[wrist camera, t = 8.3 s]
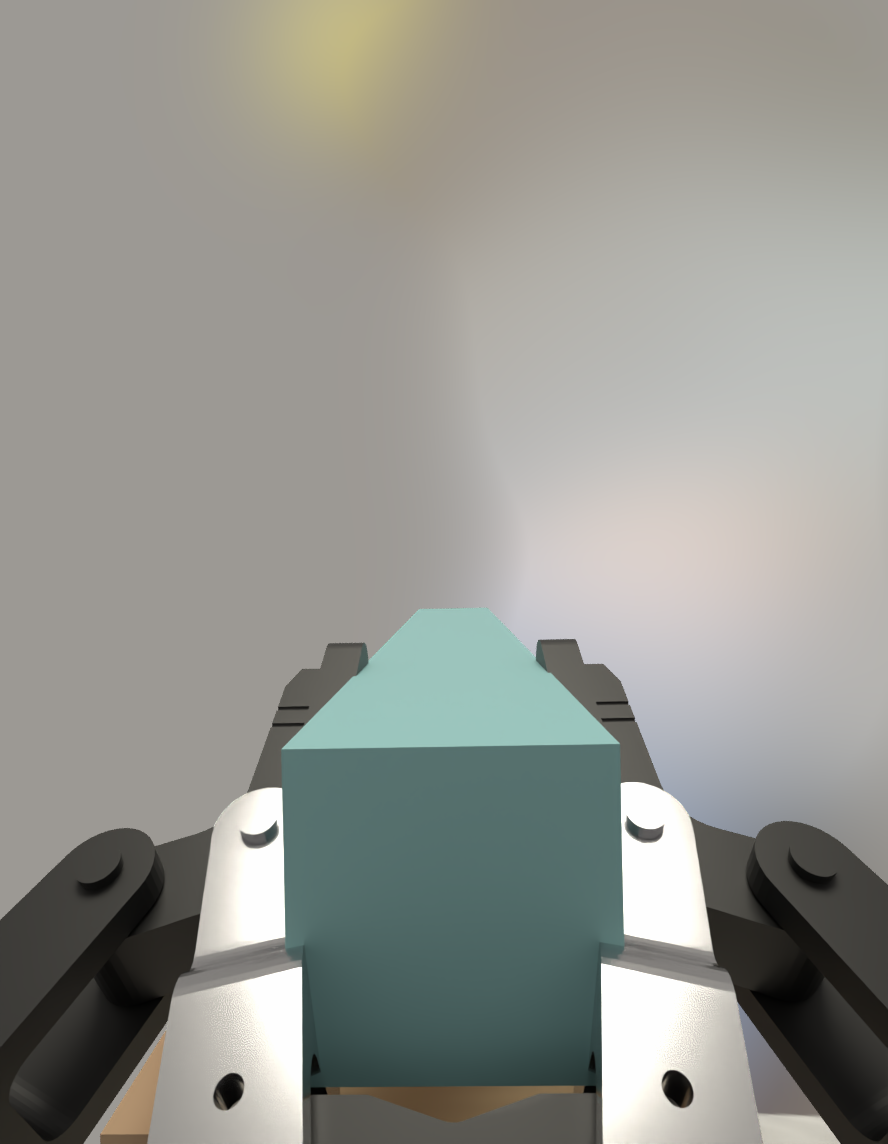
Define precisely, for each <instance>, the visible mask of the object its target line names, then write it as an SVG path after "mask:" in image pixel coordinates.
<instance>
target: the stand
mask: <svg viewBox="0 0 888 1144" xmlns="http://www.w3.org/2000/svg"><path fill="white" fill-rule="evenodd" d="M573 1091H574V1086H452V1087H340V1095H370V1096H373V1097H376V1098H379V1099H382V1100H385V1101H388V1102H390V1103H393V1104H396V1105H399V1106H402V1107H405V1108H408V1109H411V1110H414V1111H416V1112H419V1113H422V1114H425V1115H428V1116H431V1117H434V1118H437V1119H440V1120H442V1121H446V1122H460V1121H464V1120H467V1119H470V1118H472V1117H475V1116H478V1115H481V1114H483V1113H486V1112H489V1111H492V1110H495V1109H497V1108H500V1107H503V1106H506V1105H509V1104H511V1103H514V1102H517V1101H520V1100H523V1099H525V1098H528V1097H531V1096H534V1095H536V1094H540V1093H573Z"/></svg>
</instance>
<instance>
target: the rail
mask: <svg viewBox="0 0 888 1144" xmlns="http://www.w3.org/2000/svg"><path fill="white" fill-rule="evenodd" d="M368 662H369V663H368V664H367V665H366V666H365V667H364V668H363V670H362V671H361V672H360V673H359V674H358V675H357V676H353V677H352V678H351V679H350V680H349V681H348V682H347V683H346V684H345V685H344V686H343V687H342V688H341V689H340V690H339V691H338V692H337V693H336V694H335V695H334V696H333V697H332V698H331V699H330V700H329V701H328V702H327V703H326V704H325V705H324V706H323V707H322V708H321V709H320V710H319V711H318V712H317V713H316V715H315V716H314V717H313V718H312V719H311V720H310V721H309V722H308V723H307V724H306V725H305V726H304V727H303V728H302V729H301V730H300V731H299V732H298V733H297V734H296V735H295V736H294V737H293V738H292V739H291V740H290V741H289V742H288V743H287V744H286V745H285V746H284V747H283V748H282V749H281V764H282V814H283V863H284V912H285V949H286V948H291V947H296V946H301V945H304V946H305V953H306V961H307V969H308V976H309V984H310V992H311V999H312V1007H313V1015H314V1022H315V1030H316V1038H317V1045H318V1053H319V1061H320V1068H321V1072H320V1073H318V1074H316V1075H314V1076H312V1077H311V1087H452V1086H596V1074H595V1073H593V1072H591V1071H588V1064H589V1053H590V1042H591V1031H592V1019H593V1008H594V997H595V986H596V974H597V963H598V952H599V942H603V943H609V944H614V945H620V946H625V944H624V899H623V854H622V808H621V763H620V743H619V742H618V741H617V740H616V739H615V738H614V737H613V736H612V735H611V734H610V733H609V732H608V731H607V730H606V729H605V728H604V727H603V726H602V725H601V724H600V723H599V722H598V721H597V720H596V719H595V718H594V717H593V716H592V715H591V714H590V713H589V712H588V710H587V709H586V708H585V707H584V706H583V705H582V704H581V703H580V702H579V701H578V700H577V699H576V698H575V697H574V696H573V695H572V694H571V693H570V692H569V691H568V690H567V689H566V688H565V687H564V686H563V685H562V684H561V683H560V682H559V681H558V680H557V679H556V678H555V677H554V676H553V675H552V674H551V673H548V672H547V671H546V670H545V669H544V668H543V667H542V666H541V665H540V664H539V663H538V662H537V661H536V657H535V656H534V655H533V654H532V653H531V652H530V651H529V650H528V649H527V648H526V647H525V646H524V645H523V644H522V643H521V642H520V641H519V640H518V639H517V638H516V637H515V636H514V635H513V634H512V633H511V631H510V630H509V629H508V628H507V627H506V626H505V625H504V624H503V623H501V621H500V620H499V619H498V618H497V617H496V616H495V615H494V614H493V613H492V612H491V611H490V610H489V609H488V608H454V609H452V608H451V609H419V610H418V611H417V612H416V613H415V614H414V615H413V616H412V617H411V618H410V619H409V620H408V621H407V622H406V623H405V624H404V625H403V626H402V627H401V628H400V629H399V630H398V631H397V632H396V633H395V634H394V635H393V636H392V637H391V638H390V639H389V641H387V642H386V643H385V644H384V645H383V646H382V647H381V649H379V651H378V652H377V653H376V654H375V655H374V656H373V657H372V658H371V659H370V660H369V661H368Z"/></svg>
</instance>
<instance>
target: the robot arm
mask: <svg viewBox="0 0 888 1144" xmlns="http://www.w3.org/2000/svg"><path fill="white" fill-rule="evenodd" d="M536 661H537V662H538V663H539V664H540V665H541V666H542V667H543V668H544V669H545V670H546V671H547V672H548V673H551V674H552V675H553V676H554V677H555V678H556V679H557V680H558V681H559V682H560V683H561V684H562V685H563V686H564V687H565V688H566V689H567V690H568V691H569V692H570V693H571V694H572V695H573V696H574V697H575V698H576V699H577V700H578V701H579V702H580V703H581V704H582V705H583V706H584V707H585V708H586V709H587V710H588V712H589V713H590V714H591V715H592V716H593V717H594V718H595V719H596V720H597V721H598V722H599V723H600V724H601V725H602V726H603V727H604V728H605V729H606V730H607V731H608V732H609V733H610V734H611V735H612V736H613V737H614V738H615V739H616V740H617V741H618V742H619V743H620V763H621V808H622V854H623V899H624V944H625V946H620V945H614V944H609V943H603V942H599V952H598V963H597V974H596V986H595V997H594V1008H593V1019H592V1031H591V1042H590V1053H589V1064H588V1071H591V1072H593V1073H595V1074H596V1086H574V1091H573V1093H540V1094H536V1095H534V1096H531V1097H528V1098H525V1099H523V1100H520V1101H517V1102H514V1103H511V1104H509V1105H506V1106H503V1107H500V1108H497V1109H495V1110H492V1111H489V1112H486V1113H483V1114H481V1115H478V1116H475V1117H472V1118H470V1119H467V1120H464V1121H460V1122H446V1121H442V1120H440V1119H437V1118H434V1117H431V1116H428V1115H425V1114H422V1113H419V1112H416V1111H414V1110H411V1109H408V1108H405V1107H402V1106H399V1105H396V1104H393V1103H390V1102H388V1101H385V1100H382V1099H379V1098H376V1097H373V1096H370V1095H340V1087H311V1077H312V1076H314V1075H316V1074H318V1073H320V1072H321V1068H320V1061H319V1053H318V1045H317V1038H316V1030H315V1022H314V1015H313V1007H312V999H311V992H310V984H309V976H308V969H307V961H306V953H305V946H304V945H301V946H296V947H291V948H286V949H285V912H284V863H283V814H282V764H281V749H282V748H283V747H284V746H285V745H286V744H287V743H288V742H289V741H290V740H291V739H292V738H293V737H294V736H295V735H296V734H297V733H298V732H299V731H300V730H301V729H302V728H303V727H304V726H305V725H306V724H307V723H308V722H309V721H310V720H311V719H312V718H313V717H314V716H315V715H316V713H317V712H318V711H319V710H320V709H321V708H322V707H323V706H324V705H325V704H326V703H327V702H328V701H329V700H330V699H331V698H332V697H333V696H334V695H335V694H336V693H337V692H338V691H339V690H340V689H341V688H342V687H343V686H344V685H345V684H346V683H347V682H348V681H349V680H350V679H351V678H352V677H353V676H357V675H358V674H359V673H360V672H361V671H362V670H363V668H364V667H365V666H366V665H367V664H368V663H369V662H368V654H367V648H366V644H365V643H330V644H328V646H327V648H326V651H325V655H324V658H323V661H322V665H321V668H320V669H302V670H301V671H300V672H299V673H298V674H297V675H296V676H295V677H294V678H293V679H292V680H291V681H290V682H289V684H288V685H286V687H285V689H284V692H283V695H282V698H281V700H280V703H279V706H278V711H277V712H276V714H275V717H274V720H273V723H272V728H270V731H269V734H268V737H267V740H266V742H265V745H264V748H263V751H262V754H261V756H260V759H259V762H258V765H257V767H256V770H255V773H254V776H253V779H252V781H251V784H250V787H249V790H248V792H247V794H245V795H243V796H241V797H240V798H238V799H237V800H235V801H234V802H232V803H231V804H230V805H229V806H228V807H227V808H226V809H225V810H224V811H223V812H222V814H221V815H220V817H219V818H218V820H217V822H216V824H215V826H214V827H212V828H210V829H208V830H206V831H203V832H200V833H198V834H195V835H192V836H188V837H185V838H181V839H178V840H175V841H171V842H168V843H165V844H162V845H158V846H154V844H153V842H152V840H151V839H150V837H148V835H147V834H145V833H144V832H142V831H140V830H136V829H130V828H124V829H115V830H110V831H107V832H104V833H101V834H98V835H97V836H94V837H92V838H90V839H88V840H87V841H85V842H83V843H82V844H80V845H79V846H78V847H76V848H75V849H74V850H72V851H71V852H70V853H69V854H68V855H67V856H66V857H65V858H64V859H63V860H62V861H61V862H60V863H59V864H58V865H57V866H55V868H54V869H52V870H51V871H50V872H49V873H48V874H47V875H46V876H45V877H44V878H43V879H42V880H41V881H40V882H39V883H38V884H37V885H36V886H35V887H34V888H33V889H32V890H31V891H30V892H29V893H28V894H27V895H26V896H25V897H24V898H23V899H22V900H21V901H19V903H18V904H16V905H15V906H14V907H13V908H12V909H11V910H10V911H9V912H8V913H7V914H6V915H5V916H4V917H3V918H2V919H1V920H0V1144H83V1143H84V1142H85V1140H86V1139H87V1137H88V1136H89V1135H90V1133H91V1132H92V1130H93V1129H94V1127H95V1126H96V1124H97V1123H98V1121H99V1120H100V1118H101V1117H102V1116H103V1114H104V1113H105V1111H106V1110H107V1108H108V1107H109V1105H110V1104H111V1103H112V1101H113V1100H114V1098H115V1097H116V1095H117V1094H118V1092H119V1091H120V1089H121V1088H122V1086H123V1085H124V1084H125V1082H126V1081H127V1079H128V1078H129V1076H130V1074H131V1073H132V1072H133V1070H134V1069H135V1067H136V1066H137V1065H138V1063H139V1062H140V1060H141V1059H142V1057H143V1056H144V1054H145V1053H146V1052H147V1050H148V1049H149V1047H150V1046H151V1044H152V1043H153V1041H154V1040H155V1038H156V1037H157V1035H158V1034H159V1032H160V1031H161V1030H162V1028H163V1027H164V1025H165V1024H166V1022H167V1021H168V1023H167V1028H166V1034H165V1040H164V1046H163V1052H162V1058H161V1064H160V1070H159V1076H158V1082H157V1088H156V1094H155V1100H154V1106H153V1112H152V1118H151V1124H150V1130H149V1136H148V1142H147V1144H763V1141H762V1136H761V1130H760V1125H759V1119H758V1114H757V1109H756V1103H755V1097H754V1092H753V1087H752V1081H751V1075H750V1070H749V1064H748V1059H747V1053H746V1048H745V1042H744V1037H743V1032H742V1026H741V1021H740V1016H739V1010H738V1004H737V1002H738V1003H739V1004H740V1006H741V1007H742V1009H743V1010H744V1011H745V1013H746V1014H747V1016H749V1018H750V1020H751V1021H752V1022H753V1024H754V1025H755V1026H756V1028H757V1029H758V1031H759V1032H760V1033H761V1035H762V1036H763V1037H764V1039H765V1040H766V1042H767V1043H768V1044H769V1046H770V1047H771V1049H772V1050H773V1051H774V1053H775V1054H776V1055H777V1057H778V1058H779V1060H780V1061H781V1062H782V1064H783V1065H784V1066H785V1067H786V1069H787V1071H788V1072H789V1073H790V1075H791V1076H792V1077H793V1079H794V1080H795V1081H796V1083H797V1084H798V1085H799V1087H800V1088H801V1090H802V1091H803V1092H804V1094H805V1095H806V1097H807V1098H808V1099H809V1101H810V1102H811V1103H812V1105H813V1106H814V1108H815V1109H816V1110H817V1111H818V1113H819V1114H820V1116H821V1117H822V1119H823V1120H824V1121H825V1123H826V1124H827V1125H828V1127H829V1128H830V1130H831V1131H832V1132H833V1134H834V1135H835V1136H836V1138H837V1139H838V1141H839V1142H840V1143H841V1144H888V885H887V884H886V883H885V882H884V881H883V880H882V879H881V878H880V877H879V876H877V875H876V874H875V873H874V872H873V871H872V870H871V869H870V868H868V866H866V865H865V864H864V863H863V862H862V861H861V860H860V859H859V858H857V856H855V855H854V854H853V853H852V852H851V851H850V850H849V849H848V848H847V847H846V846H844V845H843V844H842V843H841V842H839V841H838V840H837V839H835V838H834V837H832V836H831V835H829V834H827V833H825V832H824V831H822V830H820V829H817V828H815V827H812V826H809V825H806V824H803V823H798V822H792V821H781V822H775V823H772V824H769V825H767V826H765V827H764V828H763V829H762V830H761V831H760V832H759V833H758V835H757V837H756V839H755V838H752V837H748V836H744V835H741V834H737V833H733V832H729V831H726V830H722V829H718V828H715V827H712V826H708V825H706V824H704V823H701V822H699V821H697V820H695V819H693V818H692V817H690V816H689V815H688V813H687V812H686V810H685V809H684V807H683V806H682V805H681V804H680V803H679V802H678V801H677V800H676V799H675V798H674V797H672V796H671V795H670V794H668V793H667V792H665V791H664V790H663V788H662V786H661V784H660V781H659V779H658V776H657V774H656V771H655V769H654V766H653V763H652V761H651V758H650V756H649V753H648V751H647V748H646V746H645V743H644V740H643V738H642V735H641V733H640V730H639V727H638V725H637V723H636V722H635V717H634V715H633V712H632V710H631V707H630V705H628V699H627V697H626V694H625V692H624V689H623V686H622V684H621V681H620V680H619V679H618V678H617V677H616V676H615V675H614V674H613V673H612V672H611V671H610V670H609V669H608V668H607V667H606V666H605V665H604V664H584V663H583V660H582V657H581V654H580V650H579V647H578V644H577V642H576V640H575V639H560V640H559V639H556V640H538V642H537V651H536Z"/></svg>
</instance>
